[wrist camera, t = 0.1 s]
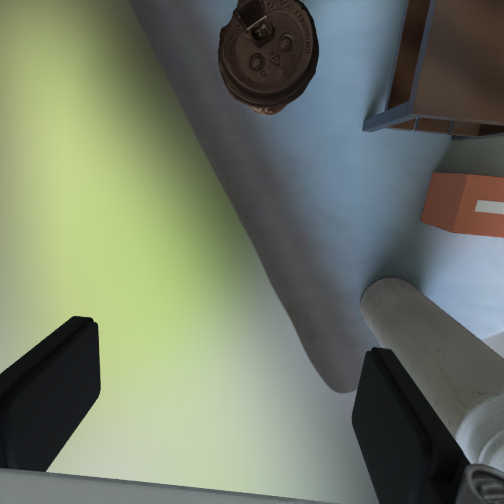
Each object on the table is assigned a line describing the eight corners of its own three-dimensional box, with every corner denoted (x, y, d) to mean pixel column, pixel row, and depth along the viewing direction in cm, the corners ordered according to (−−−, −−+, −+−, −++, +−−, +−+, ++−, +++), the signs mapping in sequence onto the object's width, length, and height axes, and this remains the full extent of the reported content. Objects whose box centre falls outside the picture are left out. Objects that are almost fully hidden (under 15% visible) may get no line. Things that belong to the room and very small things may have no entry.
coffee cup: (236, 37, 35) (222, -34, 23) (308, 48, 35) (334, -17, 23) (227, 119, 38) (210, 96, 25) (295, 129, 38) (311, 111, 25)
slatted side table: (395, -51, 33) (477, -187, 20) (509, -40, 32) (663, -169, 20) (361, 131, 37) (411, 113, 25) (461, 141, 37) (561, 128, 25)
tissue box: (432, 172, 38) (468, 173, 32) (504, 179, 38) (556, 182, 32) (420, 221, 40) (452, 232, 33) (489, 228, 40) (535, 241, 33)
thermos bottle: (415, 328, 44) (654, 584, 17) (358, 330, 45) (506, 582, 18) (420, 276, 42) (704, 474, 15) (361, 278, 42) (534, 474, 15)
